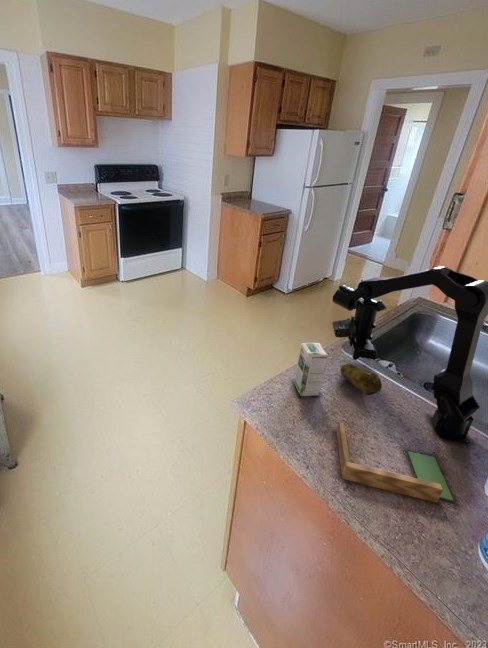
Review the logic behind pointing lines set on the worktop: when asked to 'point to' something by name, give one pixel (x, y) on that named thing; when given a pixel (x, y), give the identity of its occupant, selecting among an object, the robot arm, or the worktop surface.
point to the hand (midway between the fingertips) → (354, 359)
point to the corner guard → (384, 475)
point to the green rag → (429, 472)
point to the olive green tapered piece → (362, 379)
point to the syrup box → (310, 369)
